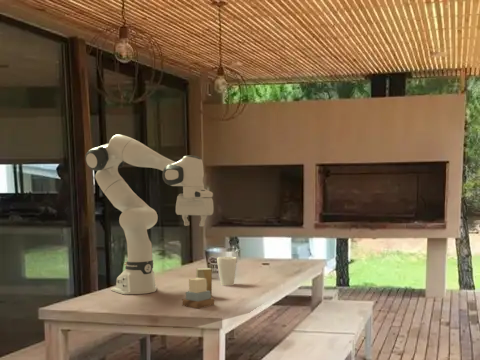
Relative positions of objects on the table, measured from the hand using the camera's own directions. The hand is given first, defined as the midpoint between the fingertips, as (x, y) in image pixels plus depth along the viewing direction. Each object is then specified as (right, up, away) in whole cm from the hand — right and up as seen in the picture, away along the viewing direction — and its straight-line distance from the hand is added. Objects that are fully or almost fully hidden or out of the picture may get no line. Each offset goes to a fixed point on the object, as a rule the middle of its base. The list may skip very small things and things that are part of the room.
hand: (194, 225), depth 238 cm
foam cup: (+13, -32, +34) cm, 48 cm away
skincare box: (+4, -31, +5) cm, 32 cm away
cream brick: (+2, -25, -12) cm, 28 cm away
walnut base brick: (+3, -31, -12) cm, 34 cm away
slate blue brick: (+3, -28, -12) cm, 31 cm away
